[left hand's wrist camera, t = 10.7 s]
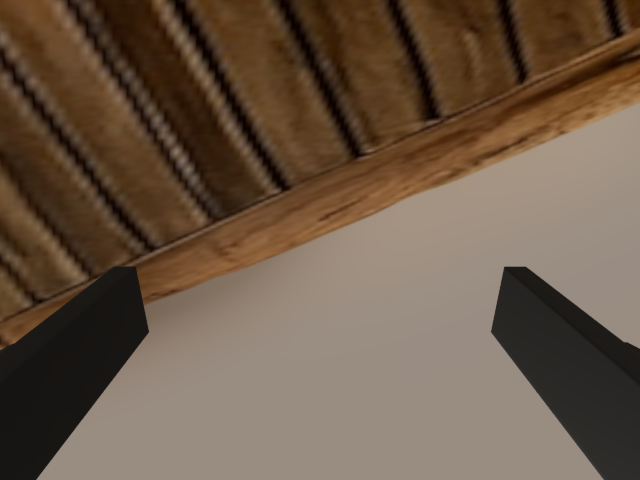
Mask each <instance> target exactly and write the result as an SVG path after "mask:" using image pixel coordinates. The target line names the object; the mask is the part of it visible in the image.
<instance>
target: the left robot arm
mask: <svg viewBox="0 0 640 480" xmlns="http://www.w3.org/2000/svg"><path fill="white" fill-rule="evenodd" d="M148 333H149V330H148V325H147V320H146V315H145V310H144V305H143V300H142V295H141V291H140V286H139V281H138V276H137V271H136V267H113V268H112V269H111V270H109V271H108V272H107V273H105V274H104V275H103V276H101V277H100V278H99V279H98V280H96V281H95V282H94V283H92V284H91V285H90V286H88V287H87V288H86V289H85V290H83V291H82V292H81V293H79V294H78V295H77V296H75V297H74V298H73V299H72V300H70V301H69V302H68V303H66V304H65V305H64V306H62V307H61V308H60V309H59V310H57V311H56V312H55V313H53V314H52V315H51V316H49V317H48V318H47V319H46V320H44V321H43V322H42V323H40V324H39V325H38V326H37V327H35V328H34V329H33V330H31V331H30V332H29V333H27V334H26V335H25V336H24V337H22V338H21V339H20V340H18V341H17V342H16V343H14V344H12V345H10V346H8V347H6V348H4V349H2V350H0V480H36V479H37V478H38V477H39V475H40V474H41V473H42V471H43V470H44V469H45V467H46V466H47V465H48V463H49V462H50V461H51V460H52V458H53V457H54V456H55V454H56V453H57V452H58V450H59V449H60V448H61V447H62V445H63V444H64V443H65V441H66V440H67V439H68V437H69V436H70V435H71V433H72V432H73V431H74V430H75V428H76V427H77V426H78V424H79V423H80V422H81V420H82V419H83V418H84V416H85V415H86V414H87V413H88V411H89V410H90V409H91V407H92V406H93V405H94V403H95V402H96V401H97V399H98V398H99V397H100V395H101V394H102V393H103V392H104V390H105V389H106V388H107V386H108V385H109V384H110V382H111V381H112V380H113V378H114V377H115V376H116V375H117V373H118V372H119V371H120V369H121V368H122V367H123V365H124V364H125V363H126V361H127V360H128V359H129V358H130V356H131V355H132V354H133V352H134V351H135V350H136V348H137V347H138V346H139V344H140V343H141V342H142V340H143V339H144V338H145V337H146V335H147V334H148ZM491 333H492V334H493V335H494V337H495V338H496V339H497V341H498V342H499V343H500V344H501V346H502V347H503V348H504V350H505V351H506V352H507V354H508V355H509V356H510V357H511V359H512V360H513V361H514V363H515V364H516V365H517V367H518V368H519V369H520V371H521V372H522V373H523V375H524V376H525V377H526V378H527V380H528V381H529V382H530V384H531V385H532V386H533V388H534V389H535V390H536V392H537V393H538V394H539V395H540V397H541V398H542V399H543V401H544V402H545V403H546V405H547V406H548V407H549V409H550V410H551V411H552V413H553V414H554V415H555V416H556V418H557V419H558V420H559V422H560V423H561V424H562V426H563V427H564V428H565V430H566V431H567V432H568V433H569V435H570V436H571V437H572V439H573V440H574V441H575V443H576V444H577V445H578V446H579V448H580V449H581V450H582V452H583V453H584V454H585V456H586V457H587V458H588V460H589V461H590V462H591V464H592V465H593V466H594V467H595V469H596V470H597V471H598V473H599V474H600V475H601V477H602V478H603V479H604V480H640V349H639V348H637V347H635V346H633V345H631V344H629V343H627V342H623V341H622V340H620V339H619V338H618V337H616V336H615V335H614V334H612V333H611V332H610V331H609V330H607V329H606V328H605V327H603V326H602V325H601V324H600V323H598V322H597V321H596V320H594V319H593V318H592V317H591V316H589V315H588V314H587V313H585V312H584V311H583V310H581V309H580V308H579V307H578V306H576V305H575V304H574V303H572V302H571V301H570V300H568V299H567V298H566V297H565V296H563V295H562V294H561V293H559V292H558V291H557V290H555V289H554V288H553V287H552V286H550V285H549V284H548V283H546V282H545V281H544V280H542V279H541V278H540V277H539V276H537V275H536V274H535V273H533V272H532V271H531V270H529V269H528V268H527V267H504V271H503V276H502V281H501V286H500V291H499V295H498V300H497V305H496V310H495V315H494V320H493V325H492V330H491Z"/></svg>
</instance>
